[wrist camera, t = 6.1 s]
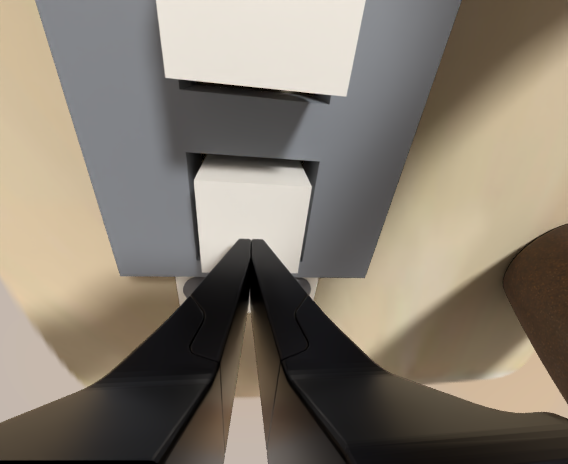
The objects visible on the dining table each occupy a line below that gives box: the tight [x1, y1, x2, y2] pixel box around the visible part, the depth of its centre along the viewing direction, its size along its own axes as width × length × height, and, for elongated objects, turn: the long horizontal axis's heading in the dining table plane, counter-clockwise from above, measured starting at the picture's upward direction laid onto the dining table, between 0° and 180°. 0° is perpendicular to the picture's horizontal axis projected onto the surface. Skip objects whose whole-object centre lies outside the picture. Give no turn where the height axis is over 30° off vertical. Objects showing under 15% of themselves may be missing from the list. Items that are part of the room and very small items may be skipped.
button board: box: [35, 0, 462, 278], centre depth 9 cm, size 12×21×3 cm, turn 174°
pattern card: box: [175, 277, 319, 313], centre depth 17 cm, size 9×5×1 cm, turn 84°
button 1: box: [194, 154, 312, 273], centre depth 12 cm, size 4×4×4 cm
